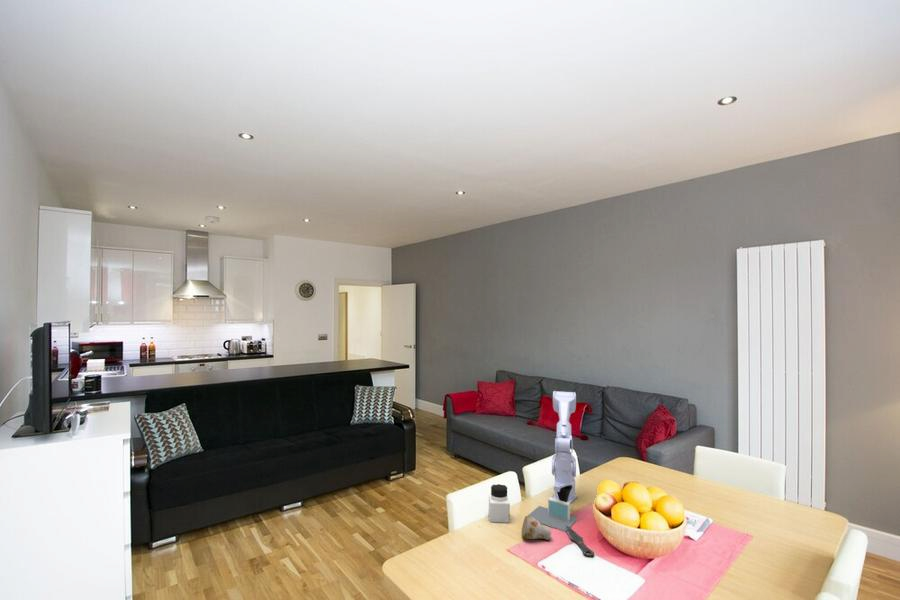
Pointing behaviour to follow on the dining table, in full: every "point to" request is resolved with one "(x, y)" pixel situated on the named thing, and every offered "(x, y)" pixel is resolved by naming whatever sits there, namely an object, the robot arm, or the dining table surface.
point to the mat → (551, 519)
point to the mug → (534, 529)
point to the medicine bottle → (499, 504)
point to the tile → (559, 509)
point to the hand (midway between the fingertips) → (563, 504)
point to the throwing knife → (579, 541)
